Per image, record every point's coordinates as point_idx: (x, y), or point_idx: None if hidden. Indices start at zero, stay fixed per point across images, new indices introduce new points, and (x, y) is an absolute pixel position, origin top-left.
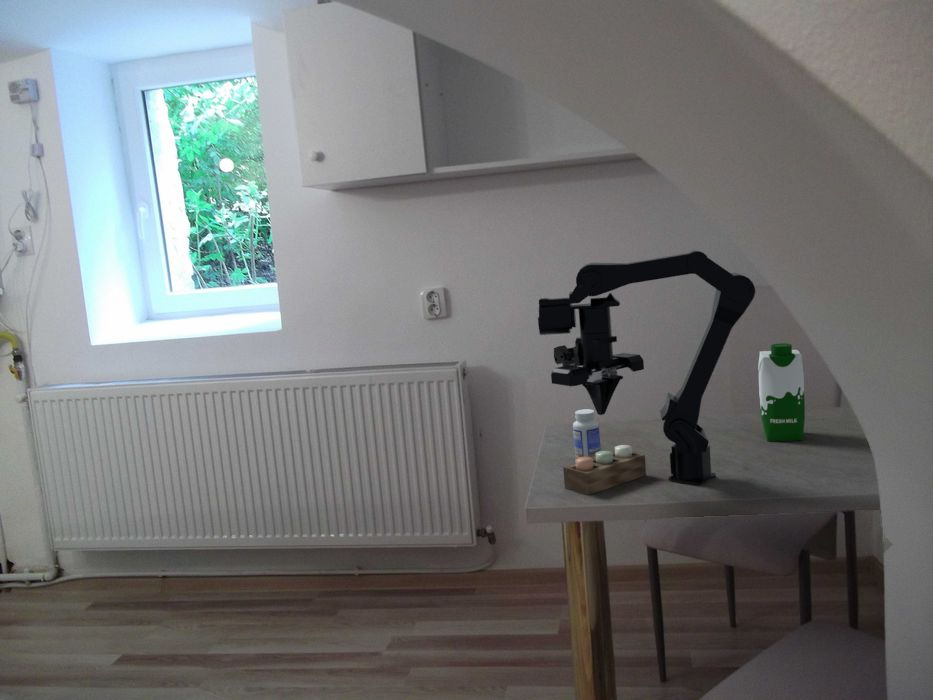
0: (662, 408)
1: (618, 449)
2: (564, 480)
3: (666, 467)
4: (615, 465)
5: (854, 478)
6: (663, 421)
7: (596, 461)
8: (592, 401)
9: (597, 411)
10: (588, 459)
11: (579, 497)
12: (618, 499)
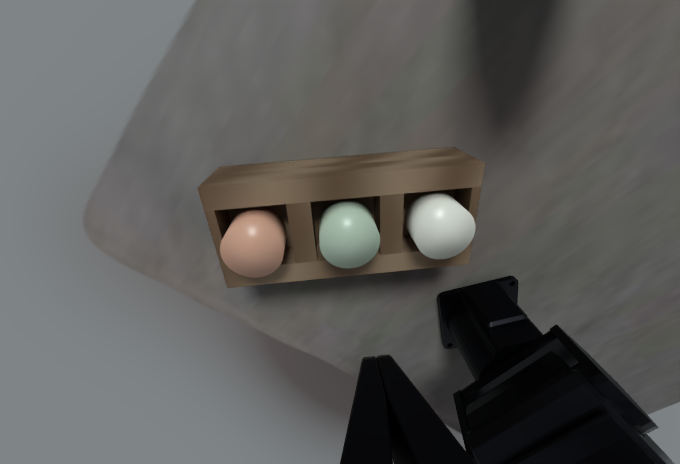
0: (618, 435)
1: (415, 241)
2: (212, 174)
3: (525, 221)
4: (344, 274)
5: None
6: (505, 450)
7: (320, 224)
8: (344, 447)
9: (360, 376)
10: (264, 261)
11: (214, 250)
12: (279, 309)
